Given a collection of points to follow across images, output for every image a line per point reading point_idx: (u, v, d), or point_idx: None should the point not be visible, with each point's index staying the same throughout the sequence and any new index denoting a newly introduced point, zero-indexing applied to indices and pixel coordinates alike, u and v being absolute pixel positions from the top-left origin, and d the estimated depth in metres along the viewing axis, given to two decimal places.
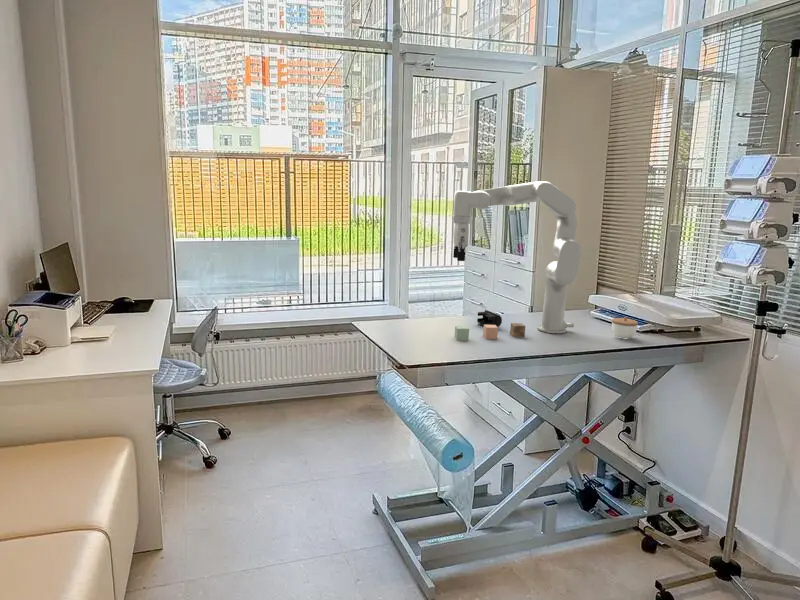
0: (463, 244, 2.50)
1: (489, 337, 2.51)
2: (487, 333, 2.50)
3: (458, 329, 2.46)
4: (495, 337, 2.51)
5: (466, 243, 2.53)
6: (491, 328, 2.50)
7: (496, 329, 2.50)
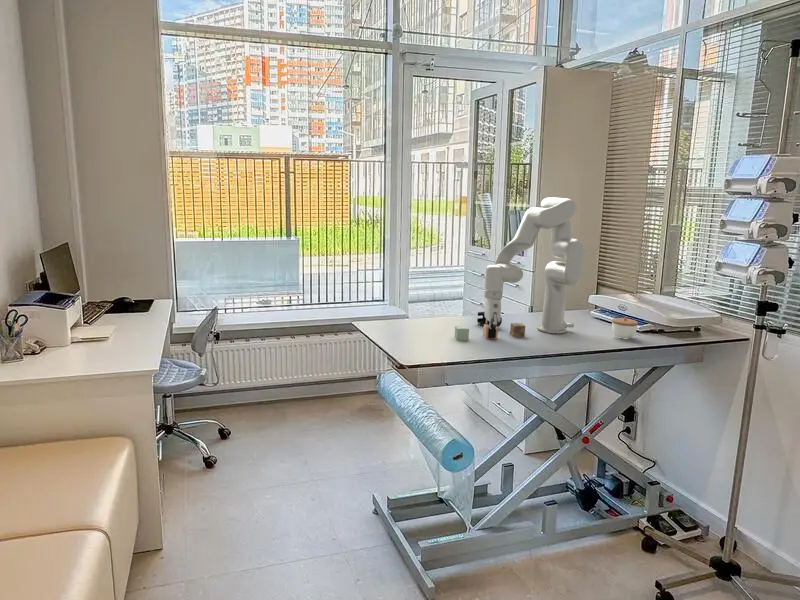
0: (495, 324, 2.45)
1: None
2: (487, 333, 2.50)
3: (458, 329, 2.46)
4: None
5: (498, 319, 2.47)
6: None
7: (496, 329, 2.50)
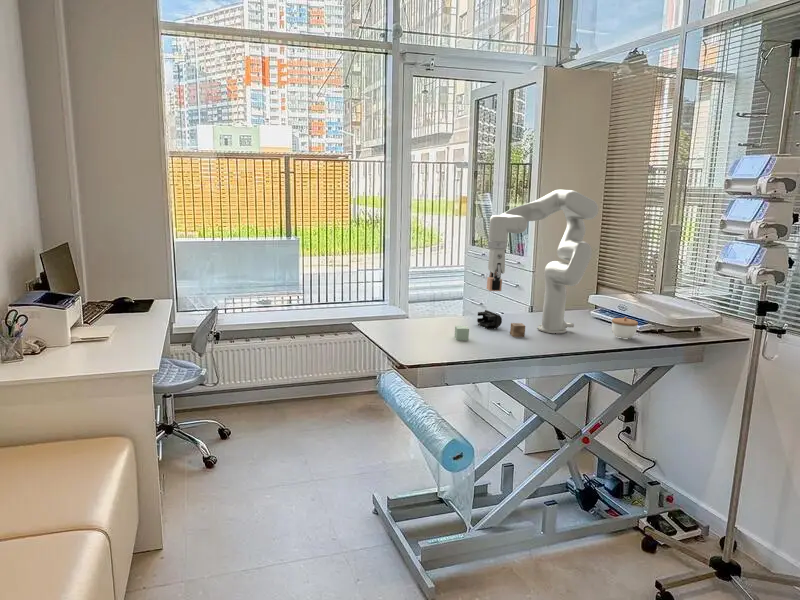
0: (499, 275, 2.41)
1: None
2: (491, 285, 2.46)
3: (458, 329, 2.46)
4: None
5: (503, 270, 2.43)
6: None
7: (500, 281, 2.46)
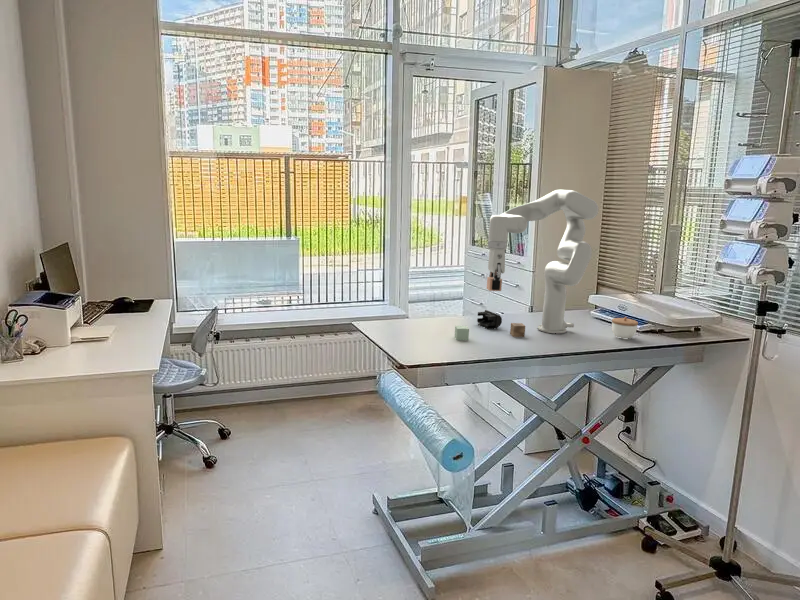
0: (499, 275, 2.41)
1: None
2: (491, 285, 2.46)
3: (458, 329, 2.46)
4: None
5: (503, 270, 2.43)
6: None
7: (500, 280, 2.46)
